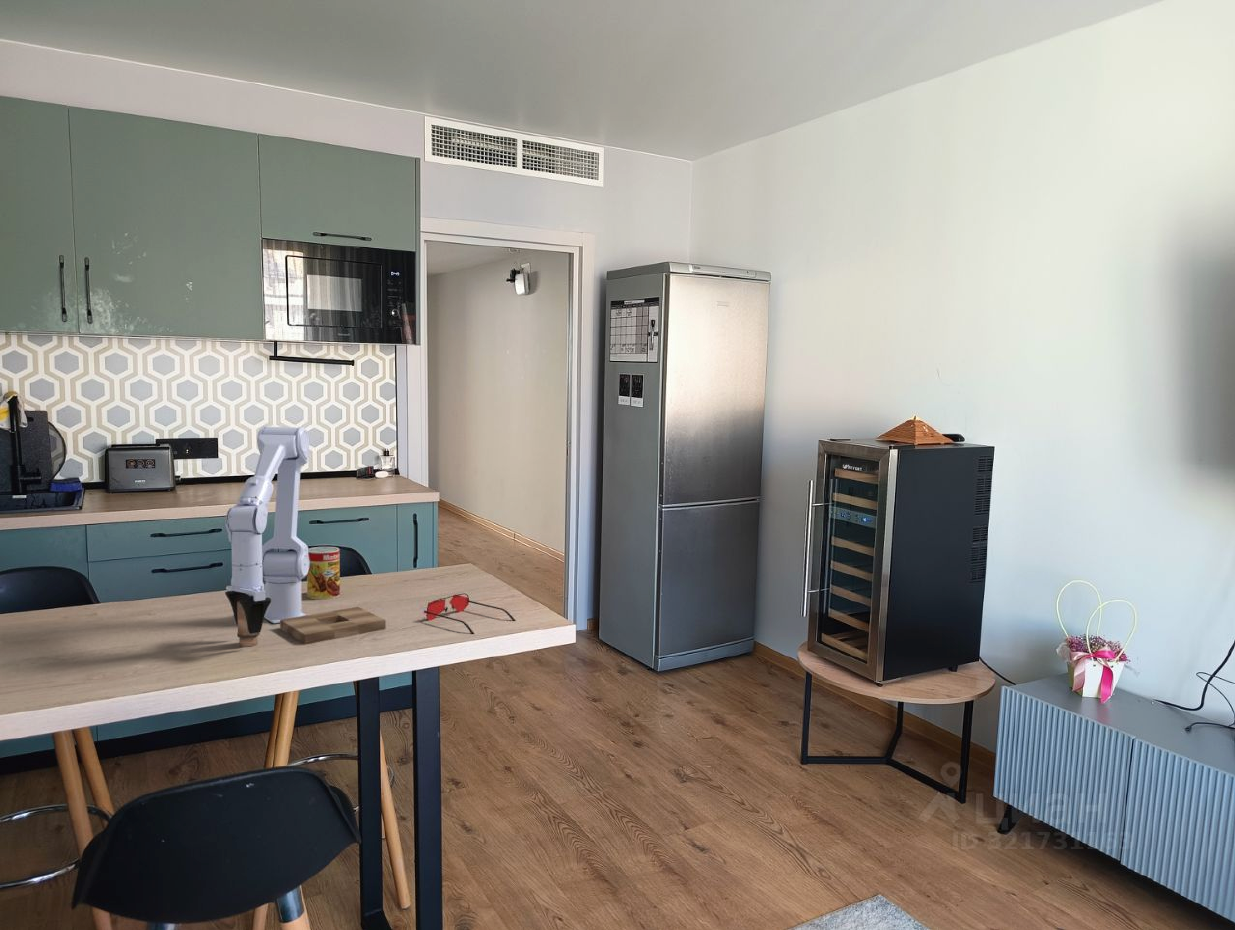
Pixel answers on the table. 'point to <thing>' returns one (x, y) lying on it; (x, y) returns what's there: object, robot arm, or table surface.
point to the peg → (245, 629)
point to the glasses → (457, 603)
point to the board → (332, 624)
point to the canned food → (323, 573)
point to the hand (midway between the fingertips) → (248, 628)
